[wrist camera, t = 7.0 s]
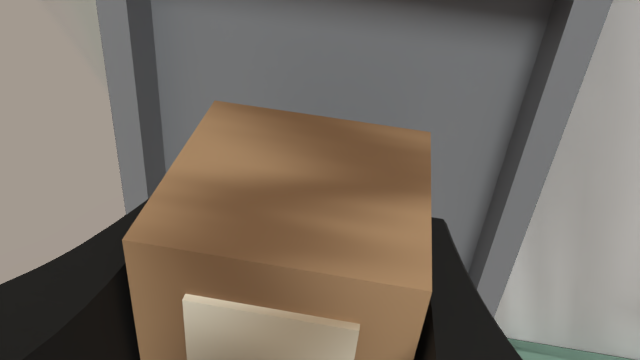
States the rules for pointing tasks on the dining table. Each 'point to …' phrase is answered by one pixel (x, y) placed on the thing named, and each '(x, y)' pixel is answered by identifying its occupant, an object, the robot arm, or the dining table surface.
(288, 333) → the brown cardboard box
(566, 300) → the dining table surface
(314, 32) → the charcoal tray
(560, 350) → the green tray
